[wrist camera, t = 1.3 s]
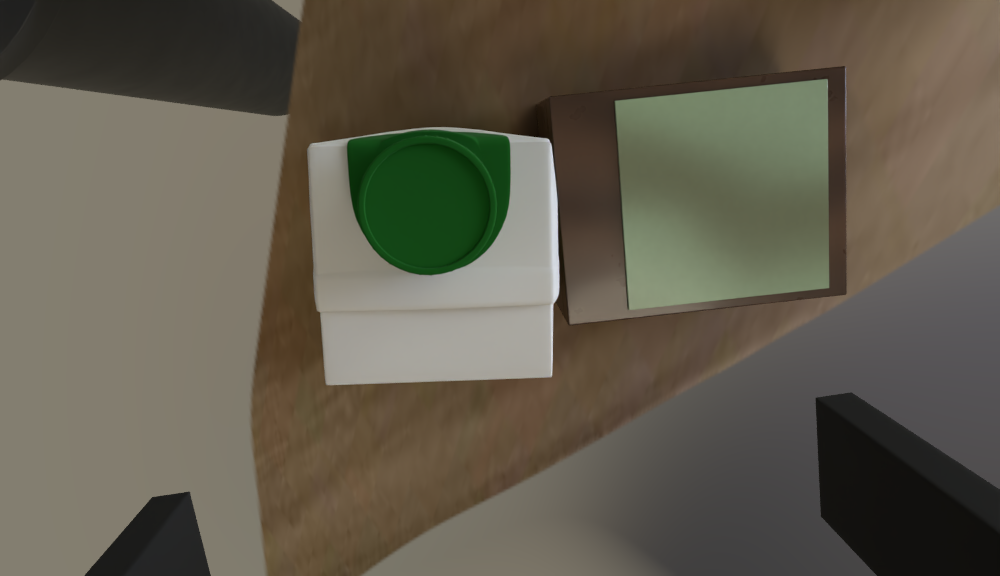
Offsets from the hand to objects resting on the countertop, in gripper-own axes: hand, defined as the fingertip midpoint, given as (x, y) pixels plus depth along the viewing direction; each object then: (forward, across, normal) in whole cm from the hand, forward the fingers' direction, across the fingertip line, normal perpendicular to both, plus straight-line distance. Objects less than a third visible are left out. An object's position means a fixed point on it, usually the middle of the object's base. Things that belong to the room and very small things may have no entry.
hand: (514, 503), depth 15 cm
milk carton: (+27, -1, +4) cm, 27 cm away
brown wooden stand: (+27, +11, +3) cm, 29 cm away
